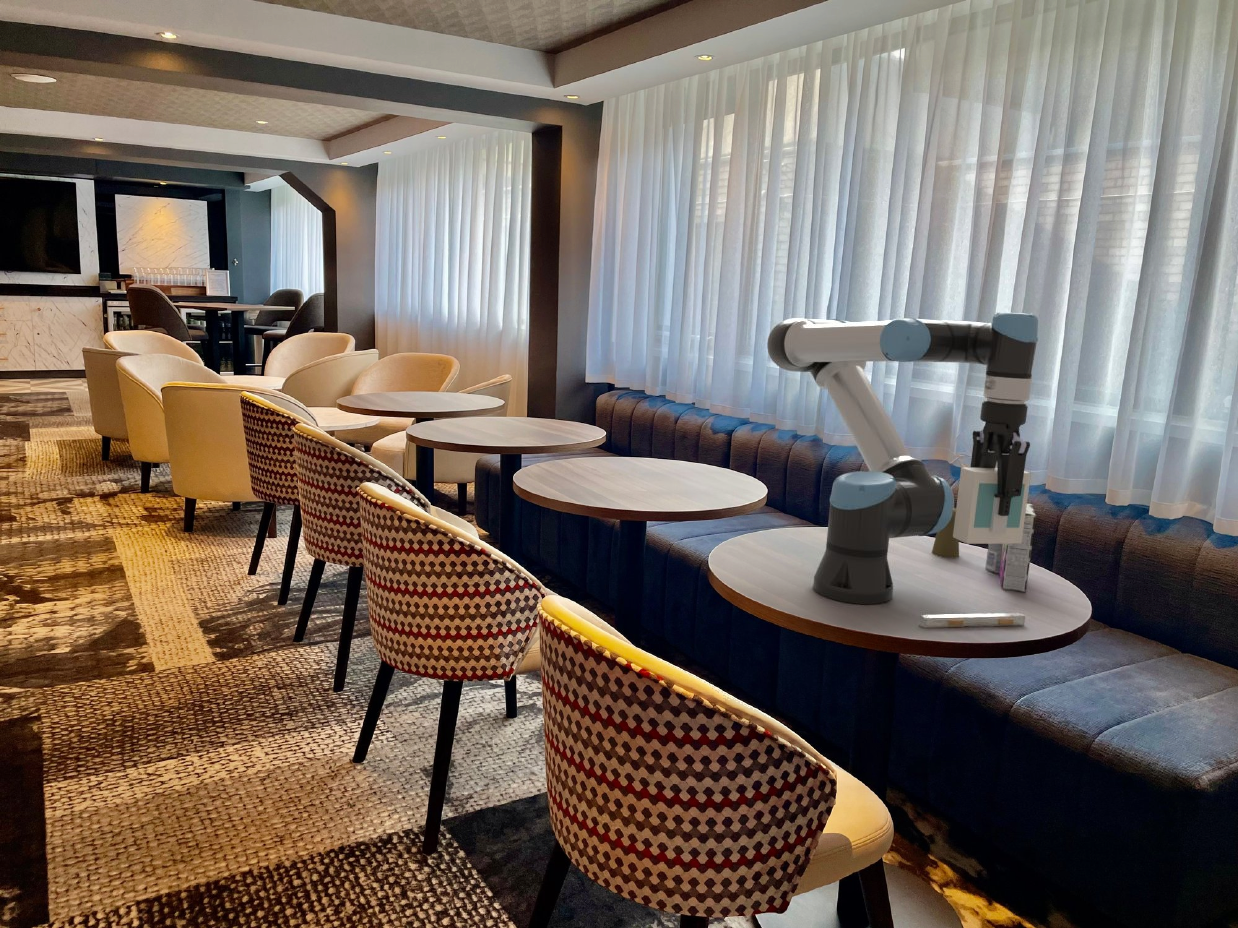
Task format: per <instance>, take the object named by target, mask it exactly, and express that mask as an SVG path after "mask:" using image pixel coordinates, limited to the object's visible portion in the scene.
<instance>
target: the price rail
mask: <svg viewBox="0 0 1238 928" xmlns="http://www.w3.org/2000/svg"><path fill="white" fill-rule="evenodd" d="M1025 621H1026V615H1024V614H1022V613H1021V612H1013V613H1011V612H1010V613H1009V612H1007V613H1002V612H1000V613H965V614H963V613H960V614H959V613H958V614H957V613H954V614H951V613H950V614H920V615H919V621H918V622H919V623H918V625H919V627H922V628H923V629H924V628H925V629H928V628H965V627H964V626H970V627H969V628H971V626H979V627H1014V626H1016V627H1017V626H1018V627H1019V626H1021V627H1023V626H1025Z"/></svg>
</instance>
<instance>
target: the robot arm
mask: <svg viewBox="0 0 1238 928" xmlns="http://www.w3.org/2000/svg"><path fill="white" fill-rule="evenodd" d="M1038 330H1039V318H1038V316H1036V315H1035V314H1033V313H1019V312H996V313H994V314H993V316H992V321H991V322H977V321H964V320H940V319H938V320H937V319H936V320H934V319H923V318H921V319H920V318H916V317H915V318H913V317H903V318H902V317H901V318H894V319H892V320H880V321H879V320H878V321H877V320H876V321H860V322H859V321H858V322H851V321H848V320H841V319H838V318H837V319H836V318H834V319H832V318H831V319H818V318H817V319H816V318H814V319H813V318H800V317H795V318H794V317H793V318H788V319H784V320H782V321H781V322H779V323H777V324H776V325H775V326H774V327H773V328H772V329H771V331H770V333H769V335H768V338H767V345H766V347H767V352H768V355H769V358H770V359H771V361H772V362H773V363H774V364H775V365H776V366H777V367H779V368H780V369H783V370H785V371H789V372H795V373H796V372H797V373H798V372H799V373H810V374H811V376H812V377H813V380H814V381H815V384H816V385H817V386H818V387H819V388H820V389H823V390H827V391H828V393H829V395H830V397H831V400H832V401H833V403H834V405H835V406H836V408H837V411H838V413H839V414H840V416H841V418H842V420H843V422H844V424H845V426H846V428H847V430H848V432H849V433H850V435H851V437H852V439H853V442H854V443H855V445H856V447H857V449H858V452H859V453H860V455H861V457H862V460H863V461H864V462H865V465H866V466H867V468H868V471H861V470H859V471H850V472H847V473H843V474H841V475H839V476H837V477H836V478H835V479H834V481H833V483H832V489H831V494H830V496H829V512H828V513H829V514H828V524H827V535H826V544H825V546H826V547H825V550H824V551H825V552H824V553H823V556H822V558H821V560H820V562H819V564H818V567H817V569H816V571H815V573H814V576H813V584H812V588H813V590H814V591H815V592H816V593H817V594H819V595H821V596H824V597H826V598H828V599H831V600H835V601H840V602H845V603H852V604H857V605H858V604H860V605H877V604H883V603H886V602H890V601H891V600H892V599H893V593H894V583H893V579H892V573H891V571H890V566H889V560H888V552H889V546H890V545H889V544H890V543H889V542H890V539H896V538H908V537H925V536H927V535H931V534H937V532H939V531H941V530H942V529H943V528H944V527H945V526H946V525H947V524H948V523H949V521H950V519H951V517H952V514H953V513H952V510H953V508H955V495H954V492H953V489H952V487H951V485H950V484H949V482H947V480H945V479H944V478H943V477H939V476H937V475H931V474H930V473H929V470H928V469H927V467H926V465H925V463H924V461H922V459H919V458H916V457H915V458H914V457H911V455H910V453H909V451H908V449H907V447H906V445H905V443H904V442H903V440H902V438H901V436H900V434H899V433H898V431H897V429H896V427H895V426H894V424H893V422H892V420H891V419H890V416H889V414H888V413H887V410H886V409H885V407H884V405H883V403H882V401H881V400H880V398H879V396H878V395H877V393H876V391H875V389H874V388H873V386H872V383H871V382H870V379H869V378H868V376H867V375H866V373H865V368H866V367H867V362H897V363H898V362H901V363H907V362H908V363H910V362H911V363H913V362H914V363H917V362H918V363H919V362H923V363H924V362H926V363H927V362H928V363H929V362H934V363H958V364H960V363H963V364H977V365H983V366H986V369H985V381H984V390H983V397H984V398H986V399H985V400H983V401H982V402H981V409H980V417H979V418H980V420H981V421H982V422H983V423H984V426H983V429H982V430H973V431H972V442H973V444H972V451H971V460H970V467H969V468H997V475H998V494H994V502H993V510H992V518H991V525H990V532H991V533H1006V526H1007V519H1008V515H1009V512H1010V504H1011V499H1012V498H1013V497H1016V496H1020V495H1021V491H1022V484H1023V477H1024V471H1025V467H1026V462H1027V461H1026V460H1027V454H1028V452H1029V450H1030V448H1031V442H1030V441H1029V440H1027V441H1024V440H1023V439H1022V438H1021V433H1020V427H1021V426H1023V425H1025V424H1026V422H1027V414H1028V410H1029V409H1028V407H1029V405H1028V404H1026V402H1027V401H1029V400H1030V395H1031V386H1032V376H1033V375H1032V373H1033V367H1034V366H1033V365H1034V360H1035V354H1036V348H1037V343H1038V340H1039V338H1038V332H1039V331H1038ZM996 466H997V467H996Z"/></svg>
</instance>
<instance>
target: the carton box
mask: <svg viewBox="0 0 1238 928" xmlns="http://www.w3.org/2000/svg"><path fill="white" fill-rule="evenodd" d="M1031 476H1032V475H1031V472H1029V471H1027V470H1026V471H1025V470H1024V477H1023V484H1022V491H1021V495H1020V496H1016V497H1013V498H1012V499H1011V504H1010V512H1009V515H1008V519H1007V526H1006V533H991V532H990V525H991V518H992V510H993V502H994V494H998V475H997V467H995V468H970V467H960V474H959V483H958V493H957V500H956V507H955V508H956V515H955V523H954V531H953V537H954V538H956V539H958V540H959V542H962V543H965V544H971V545H972V544H978V545H979V544H981V545H982V544H986V545H987V544H988V545H989V544H1004V543H1022V536H1023V528H1024V521H1025V513H1026V506H1027V504H1028V497H1029V489H1030V483H1031Z"/></svg>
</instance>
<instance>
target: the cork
mask: <svg viewBox="0 0 1238 928" xmlns="http://www.w3.org/2000/svg"><path fill="white" fill-rule="evenodd" d="M952 513H953V514H952V517H951V519H950V521H949V523H948V524H947V525H946V526H945V527H944V528H943V529H942V530H941V531H939V532H936V533H935V534H936V535H935V538H934V543H933V546H932V549H931V554H932V553H933V554H932V555H935V556H936V555H937V557H940V556H941V557H942V558H947V559H957V558H959V557H960V540H958V539H956V538H954V537H953V531H954V523H955V515H956V507H954V508H953V510H952ZM941 557H940V558H941Z"/></svg>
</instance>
